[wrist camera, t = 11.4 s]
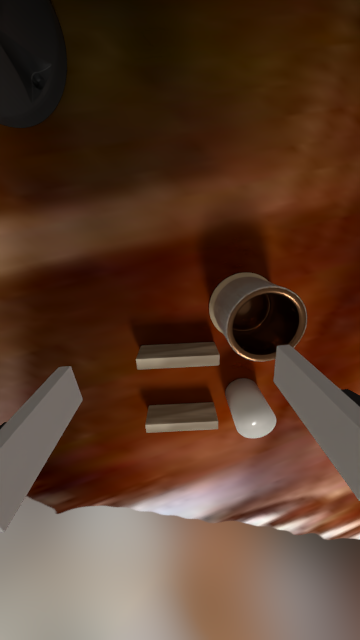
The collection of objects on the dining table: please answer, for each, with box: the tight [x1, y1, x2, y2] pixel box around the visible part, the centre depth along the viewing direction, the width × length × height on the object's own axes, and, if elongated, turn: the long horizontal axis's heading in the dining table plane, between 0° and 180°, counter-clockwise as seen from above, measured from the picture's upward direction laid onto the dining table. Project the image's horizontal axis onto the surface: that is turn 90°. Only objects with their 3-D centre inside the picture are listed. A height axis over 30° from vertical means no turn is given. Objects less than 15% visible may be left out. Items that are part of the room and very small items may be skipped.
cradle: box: [136, 342, 220, 433], centre depth 38 cm, size 16×14×5 cm
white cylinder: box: [225, 378, 276, 438], centre depth 38 cm, size 7×7×8 cm
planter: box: [214, 277, 307, 361], centre depth 30 cm, size 11×11×10 cm
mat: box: [209, 272, 269, 333], centre depth 35 cm, size 12×12×1 cm
